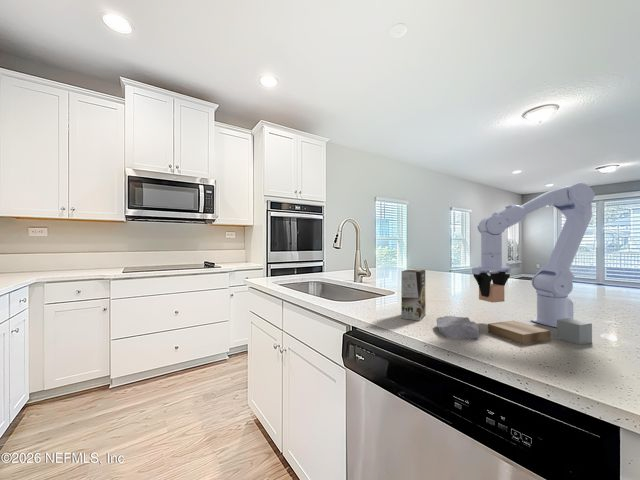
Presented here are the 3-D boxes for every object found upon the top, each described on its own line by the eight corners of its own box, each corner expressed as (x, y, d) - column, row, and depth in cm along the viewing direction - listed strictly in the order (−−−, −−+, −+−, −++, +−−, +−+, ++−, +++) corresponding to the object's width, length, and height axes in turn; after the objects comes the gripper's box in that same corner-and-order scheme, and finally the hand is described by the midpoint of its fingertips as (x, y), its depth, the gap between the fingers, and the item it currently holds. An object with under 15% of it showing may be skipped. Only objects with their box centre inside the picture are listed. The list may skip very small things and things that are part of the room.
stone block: (444, 345, 75) (483, 339, 73) (440, 327, 75) (479, 321, 74) (434, 332, 87) (468, 327, 85) (431, 317, 87) (464, 312, 85)
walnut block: (513, 330, 82) (513, 320, 82) (550, 342, 73) (550, 330, 73) (487, 334, 79) (487, 323, 79) (523, 346, 70) (523, 334, 70)
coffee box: (420, 321, 91) (420, 271, 91) (400, 318, 94) (400, 270, 94) (426, 315, 98) (426, 269, 98) (407, 312, 102) (407, 268, 102)
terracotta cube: (490, 298, 93) (490, 283, 93) (504, 301, 88) (504, 285, 88) (478, 299, 92) (478, 284, 92) (492, 302, 87) (492, 286, 87)
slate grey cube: (569, 336, 76) (569, 318, 76) (592, 342, 72) (591, 323, 72) (557, 338, 75) (556, 319, 75) (579, 345, 70) (579, 325, 70)
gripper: (496, 253, 96) (496, 292, 96) (463, 253, 92) (464, 294, 91) (516, 253, 90) (517, 296, 89) (482, 254, 85) (482, 299, 85)
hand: (491, 295), depth 90 cm, fingers closed on terracotta cube, 5 cm apart
